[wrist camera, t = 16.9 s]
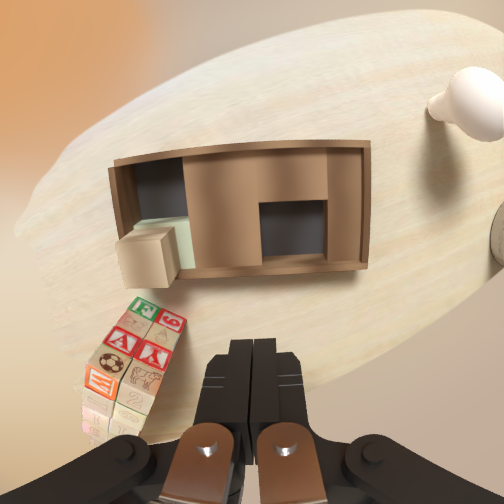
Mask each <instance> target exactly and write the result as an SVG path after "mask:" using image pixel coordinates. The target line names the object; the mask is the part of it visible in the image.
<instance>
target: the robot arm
mask: <svg viewBox="0 0 504 504" xmlns="http://www.w3.org/2000/svg"><path fill="white" fill-rule="evenodd" d="M491 250H492V254H493V256H494V258H495V260H496V261H497V262H498V263H499V264H501V265H502V266H504V203H503V204H502V205H501V207H500V208H499V210H498V212H497V214H496V216H495V219H494V222H493V225H492V230H491ZM254 457H255V464H256V465H258V473H259V487H260V502H261V504H504V497H502V496H500V495H497V494H495V493H493V492H491V491H488V490H486V489H484V488H482V487H480V486H478V485H475V484H473V483H471V482H469V481H467V480H465V479H463V478H461V477H459V476H457V475H455V474H453V473H451V472H449V471H447V470H445V469H443V468H442V467H440V466H438V465H436V464H434V463H432V462H430V461H429V460H427V459H425V458H423V457H421V456H419V455H418V454H416V453H414V452H412V451H411V450H409V449H407V448H405V447H404V446H402V445H400V444H398V443H397V442H395V441H393V440H392V439H390V438H388V437H386V436H383V435H378V434H370V435H365V436H362V437H359V438H357V439H356V440H354V441H353V442H352V443H351V444H349V443H340V442H333V441H329V440H326V439H323V438H321V437H319V436H318V435H317V434H315V433H314V432H313V430H312V429H311V428H310V426H309V423H308V418H307V409H306V401H305V394H304V387H303V379H302V372H301V365H300V361H299V360H298V359H297V357H296V356H295V355H294V354H293V352H284V353H276V338H267V339H254V345H253V339H241V340H231V341H230V347H229V353H228V354H226V355H215V356H214V357H213V358H212V360H211V361H210V362H209V363H208V364H207V368H206V372H205V378H204V380H203V385H202V389H201V393H200V398H199V402H198V406H197V411H196V415H195V419H194V423H193V426H192V427H190V428H188V429H187V430H186V431H185V432H184V433H183V434H182V436H181V438H180V439H178V440H175V441H172V442H167V443H160V444H153V445H147V443H146V442H145V441H144V440H143V439H142V438H140V437H138V436H135V435H130V434H124V435H119V436H116V437H114V438H112V439H110V440H108V441H107V442H105V443H103V444H101V445H100V446H98V447H96V448H94V449H93V450H91V451H89V452H87V453H86V454H84V455H82V456H80V457H78V458H77V459H75V460H73V461H71V462H69V463H67V464H65V465H63V466H62V467H60V468H58V469H56V470H54V471H52V472H50V473H48V474H46V475H44V476H42V477H40V478H38V479H36V480H34V481H32V482H30V483H27V484H25V485H23V486H21V487H19V488H16V489H14V490H12V491H10V492H8V493H5V494H3V495H0V504H241V501H242V495H243V487H244V478H245V465H253V461H254Z"/></svg>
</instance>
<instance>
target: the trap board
mask: <svg viewBox="0 0 504 504" xmlns="http://www.w3.org/2000/svg"><path fill="white" fill-rule="evenodd" d="M108 172H109V180H110V188H111V195H112V201H113V208H114V214H115V220H116V225H117V231H118V236H119V240H120V239H121V238H123V237H124V236H125V235H127V234H128V233H130V232H131V231H132V230H134V229H143V228H154V227H166V226H175V232H176V239H177V246H178V252H179V258H180V265H181V269H180V271H179V272H178V274H177V275H176V277H175V279H194V278H219V277H242V276H263V275H282V274H300V273H317V272H333V271H348V270H362V269H367V268H368V255H369V239H370V217H371V146H370V140H283V141H263V142H247V143H234V144H223V145H213V146H203V147H194V148H186V149H179V150H171V151H164V152H158V153H151V154H145V155H139V156H133V157H128V158H122V159H117V160H114V167H112V168H108Z"/></svg>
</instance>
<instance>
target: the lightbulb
mask: <svg viewBox="0 0 504 504" xmlns="http://www.w3.org/2000/svg"><path fill="white" fill-rule="evenodd" d="M427 108H428V112H429V114H430V115H431V117H432V118H433V119H435V120H437V121H445V122H447V123H450V124H456V125H457V126H458V127H459V128H460V129H461V130H462V131H463V132H464V133H465V134H467V135H468V136H470V137H471V138H474V139H476V140H479V141H483V142H492V141H496V140H499V139H501V138H502V137H504V82H503V81H502V80H501V79H500V78H499V77H498V76H497V75H495V74H494V73H493V72H491V71H489V70H487V69H484V68H480V67H468V68H465V69H462V70H460V71H459V72H458V73H457V74H455V75H454V76H453V78H452V79H451V81H450V83H449V85H448V88H447V90H445V91H443V92H441V93H439V94H438V95H436V96H434V97H431V98H430V99H429V101H428V104H427Z"/></svg>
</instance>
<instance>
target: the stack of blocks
mask: <svg viewBox="0 0 504 504" xmlns="http://www.w3.org/2000/svg"><path fill="white" fill-rule="evenodd" d="M185 323H186V319H185V318H183V317H181V316H178V315H176V314H174V313H172V312H170V311H167V310H165V309H163V308H160V307H158V306H156V305H154V304H152V303H150V302H148V301H146V300H144V299H142V298H140V297H136V298H135V300H134V301H133V302H132V303H131V304H130V306H129V307H128V308H127V310H126V312H125V313H124V315H123V316H122V317H121V318H120V320H119V321H118V323H117V324H116V326H113V328H112V329H111V331H110V332H109V333H108V335H107V336H106V337H105V339H104V340H103V342H102V344H101V345H100V346H99V347H98V349H97V350H96V351H95V353H94V354H93V355H92V357H91V358H90V359H89V361H88V362H87V364H86V373H85V385H84V387H83V404H82V418H83V420H82V431H83V432H84V433H86V434H88V435H90V444H92V445H94V446H96V447H98V446H100V445H101V444H103V443H105V442H107V441H108V440H110V439H112V438H114V437H116V436H119V435H124V434H130V435H135V436H138V437H139V436H140V433H141V430H142V428H143V426H144V423H145V421H146V418H147V416H148V414H149V412H150V409H151V407H152V405H153V402H154V400H155V397H156V395H157V392H158V390H159V387H160V385H161V382H162V379H163V377H164V374H165V372H166V369H167V367H168V364H169V362H170V359H171V357H172V354H173V351H174V349H175V347H176V345H177V342H178V340H179V338H180V335H181V333H182V330H183V328H184V325H185Z"/></svg>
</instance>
